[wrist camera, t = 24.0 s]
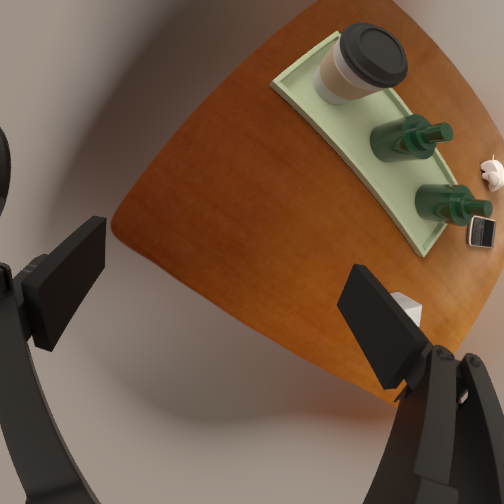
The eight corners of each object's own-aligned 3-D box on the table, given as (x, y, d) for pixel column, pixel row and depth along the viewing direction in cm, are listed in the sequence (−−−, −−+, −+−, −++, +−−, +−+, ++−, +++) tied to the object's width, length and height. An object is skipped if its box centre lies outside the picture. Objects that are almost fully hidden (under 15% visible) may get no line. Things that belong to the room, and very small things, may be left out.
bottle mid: (362, 140, 40) (421, 124, 26) (383, 117, 40) (443, 97, 26) (387, 171, 42) (449, 167, 28) (406, 146, 42) (468, 138, 28)
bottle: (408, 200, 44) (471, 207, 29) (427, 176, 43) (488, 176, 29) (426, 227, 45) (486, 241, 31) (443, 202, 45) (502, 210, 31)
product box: (395, 321, 49) (417, 338, 41) (368, 328, 48) (389, 347, 41) (398, 290, 47) (423, 304, 40) (370, 296, 46) (393, 312, 39)
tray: (269, 85, 37) (272, 80, 35) (332, 36, 37) (336, 30, 35) (416, 255, 46) (424, 257, 44) (457, 196, 46) (465, 197, 44)
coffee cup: (319, 50, 37) (362, 3, 22) (366, 80, 38) (422, 48, 24) (296, 91, 38) (337, 48, 23) (347, 122, 40) (405, 97, 25)
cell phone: (467, 214, 47) (472, 215, 46) (493, 220, 49) (497, 221, 47) (464, 244, 48) (468, 245, 47) (490, 247, 50) (494, 248, 48)
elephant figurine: (479, 194, 47) (499, 195, 41) (473, 156, 45) (493, 155, 39) (493, 189, 47) (512, 191, 41) (488, 154, 45) (508, 153, 40)
